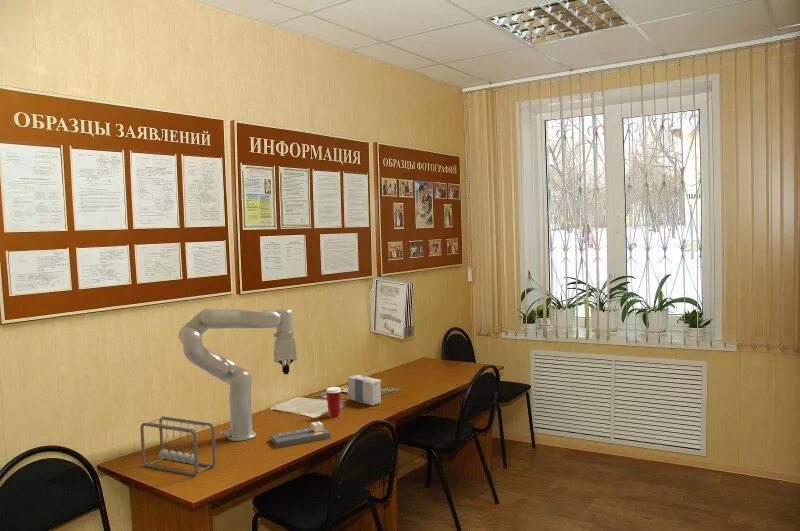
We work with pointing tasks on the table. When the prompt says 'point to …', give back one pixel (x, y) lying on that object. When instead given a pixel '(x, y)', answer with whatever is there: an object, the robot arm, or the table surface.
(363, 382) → the stereo radio cassette player
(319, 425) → the fader knob
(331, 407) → the paper cup
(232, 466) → the table surface
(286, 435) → the fader panel
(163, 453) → the newton's cradle
